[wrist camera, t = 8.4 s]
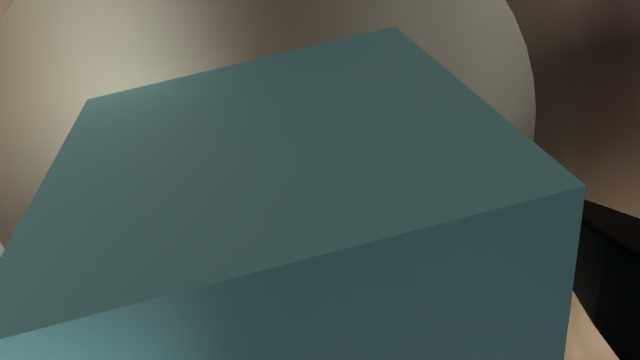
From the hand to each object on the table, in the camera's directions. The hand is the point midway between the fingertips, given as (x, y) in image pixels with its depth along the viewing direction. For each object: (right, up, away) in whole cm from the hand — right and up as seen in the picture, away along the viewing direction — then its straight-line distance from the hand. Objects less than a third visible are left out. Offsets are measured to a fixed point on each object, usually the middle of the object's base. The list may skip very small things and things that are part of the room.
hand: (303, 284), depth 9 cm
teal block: (-1, +2, +3) cm, 3 cm away
